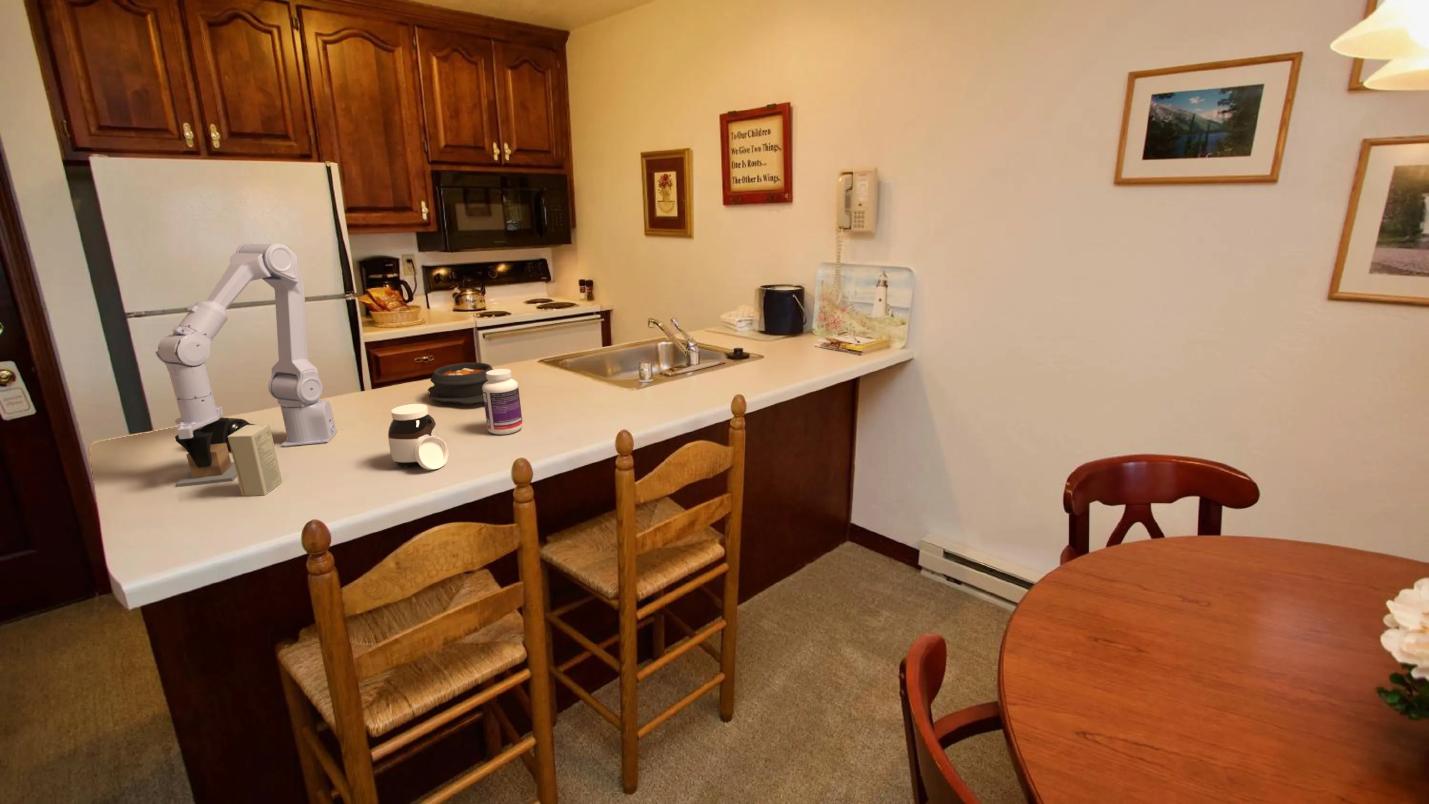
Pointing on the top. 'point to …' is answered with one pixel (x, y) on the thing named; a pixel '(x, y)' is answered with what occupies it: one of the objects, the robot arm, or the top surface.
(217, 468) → the walnut cube
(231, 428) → the supplement bottle
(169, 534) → the top surface
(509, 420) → the pill bottle
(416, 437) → the spread jar
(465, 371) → the casserole
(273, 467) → the skincare box
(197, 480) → the slate mat
